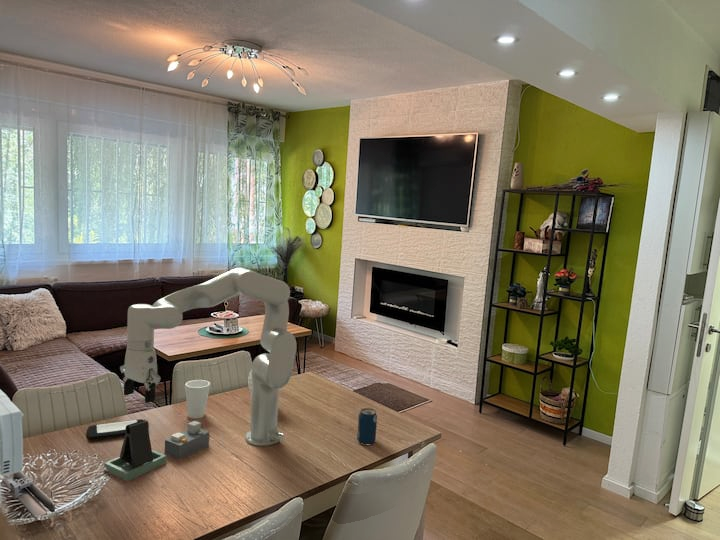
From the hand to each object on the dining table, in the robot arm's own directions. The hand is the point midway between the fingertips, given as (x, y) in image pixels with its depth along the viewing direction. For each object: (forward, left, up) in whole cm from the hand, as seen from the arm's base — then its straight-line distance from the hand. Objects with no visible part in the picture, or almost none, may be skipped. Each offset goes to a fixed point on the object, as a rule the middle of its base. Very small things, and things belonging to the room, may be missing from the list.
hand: (139, 397), depth 152 cm
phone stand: (0, +1, -20) cm, 20 cm away
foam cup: (+15, -38, -23) cm, 47 cm away
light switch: (+26, -12, -23) cm, 37 cm away
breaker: (-3, -20, -18) cm, 27 cm away
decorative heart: (0, -61, -23) cm, 65 cm away
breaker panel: (-4, -16, -22) cm, 28 cm away
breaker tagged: (-3, -13, -19) cm, 24 cm away
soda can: (-51, -59, -23) cm, 82 cm away
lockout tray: (0, +1, -22) cm, 22 cm away
